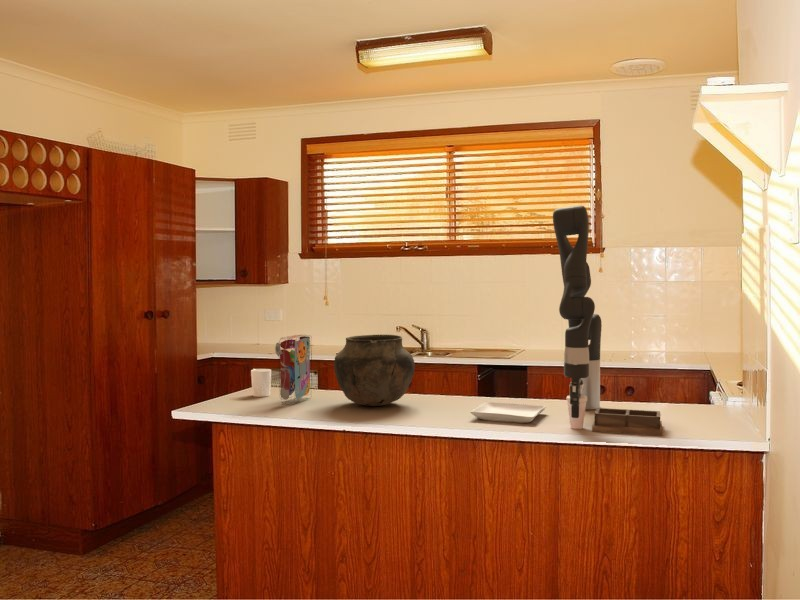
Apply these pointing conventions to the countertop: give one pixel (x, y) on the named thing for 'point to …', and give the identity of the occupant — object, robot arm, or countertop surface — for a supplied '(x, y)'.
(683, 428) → the countertop surface
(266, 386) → the white cup
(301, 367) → the box
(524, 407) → the salad plate
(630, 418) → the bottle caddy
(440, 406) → the countertop surface
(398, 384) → the pot
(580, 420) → the smoothie
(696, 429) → the countertop surface
